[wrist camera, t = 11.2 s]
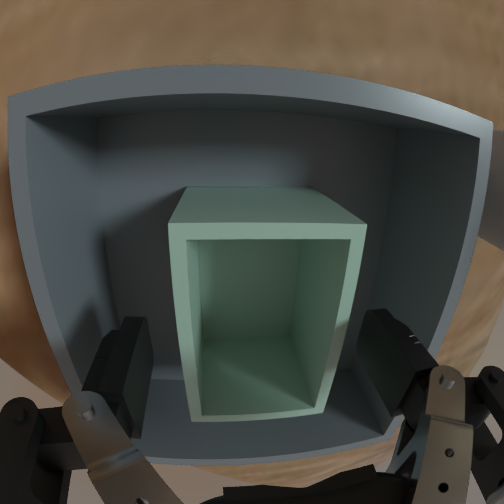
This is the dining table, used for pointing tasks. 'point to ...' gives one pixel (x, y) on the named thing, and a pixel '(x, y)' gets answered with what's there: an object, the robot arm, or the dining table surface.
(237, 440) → the big crate
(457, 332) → the dining table surface
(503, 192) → the can
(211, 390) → the small crate
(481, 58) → the dining table surface
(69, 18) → the dining table surface
